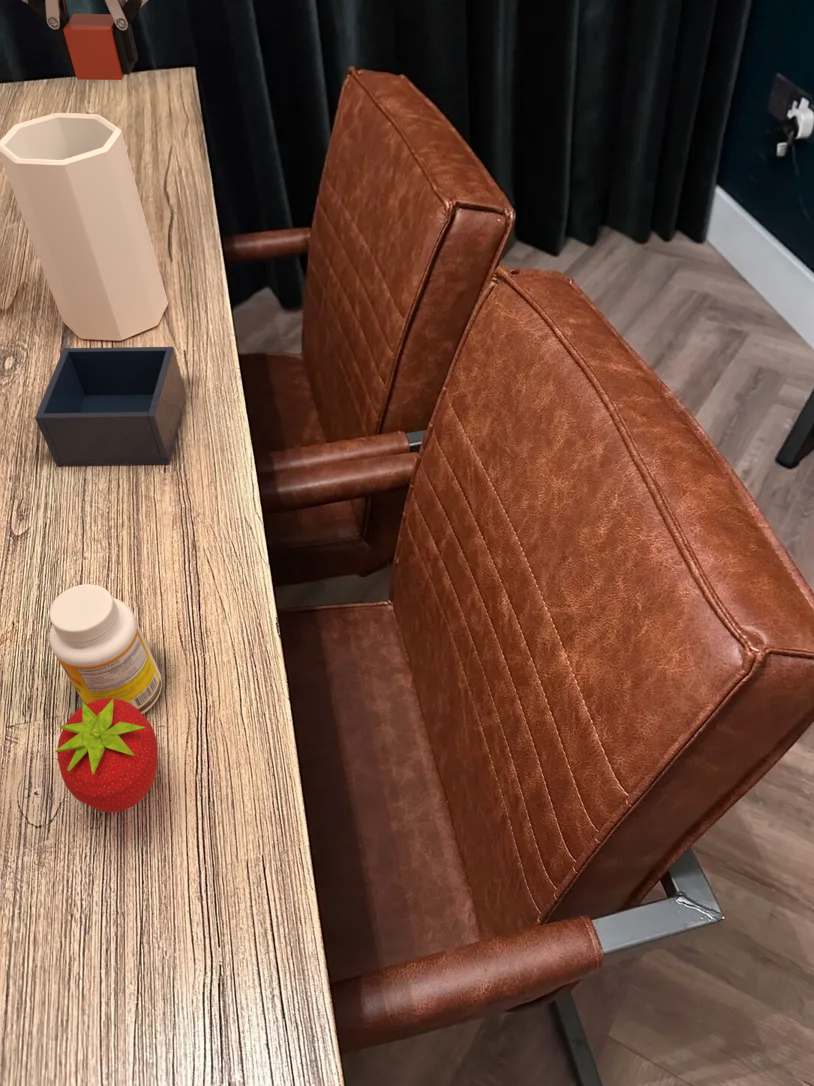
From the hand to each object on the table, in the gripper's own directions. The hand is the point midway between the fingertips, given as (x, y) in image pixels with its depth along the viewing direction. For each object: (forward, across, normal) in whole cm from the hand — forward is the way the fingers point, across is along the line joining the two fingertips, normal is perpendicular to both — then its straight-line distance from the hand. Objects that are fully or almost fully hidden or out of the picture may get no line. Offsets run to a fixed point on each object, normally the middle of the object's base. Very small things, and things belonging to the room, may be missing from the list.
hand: (103, 67), depth 90 cm
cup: (+19, +1, +15) cm, 24 cm away
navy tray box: (+19, -4, +35) cm, 40 cm away
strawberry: (+20, -12, +73) cm, 76 cm away
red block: (0, 0, 0) cm, 0 cm away
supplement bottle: (+20, -10, +65) cm, 68 cm away
